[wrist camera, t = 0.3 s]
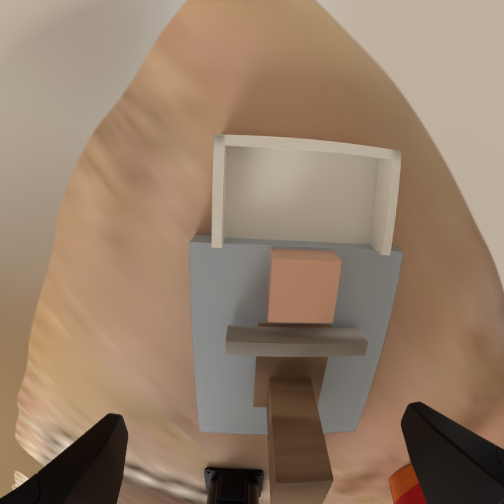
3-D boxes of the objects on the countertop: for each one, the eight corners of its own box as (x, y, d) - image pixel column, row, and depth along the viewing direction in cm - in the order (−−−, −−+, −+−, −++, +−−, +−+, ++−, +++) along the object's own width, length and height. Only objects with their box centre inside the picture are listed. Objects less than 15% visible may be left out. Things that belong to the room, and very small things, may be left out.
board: (350, 416, 27) (355, 430, 25) (202, 415, 26) (199, 431, 25) (392, 243, 22) (403, 251, 20) (195, 234, 22) (189, 242, 20)
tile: (326, 308, 21) (332, 323, 19) (266, 307, 21) (267, 322, 19) (333, 251, 20) (341, 261, 18) (270, 248, 20) (272, 258, 18)
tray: (373, 242, 22) (390, 255, 19) (216, 235, 22) (211, 247, 19) (382, 151, 20) (401, 151, 17) (219, 137, 20) (214, 134, 17)
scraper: (339, 398, 23) (369, 498, 14) (227, 399, 23) (217, 505, 14) (357, 323, 21) (412, 424, 12) (228, 321, 21) (212, 434, 12)
